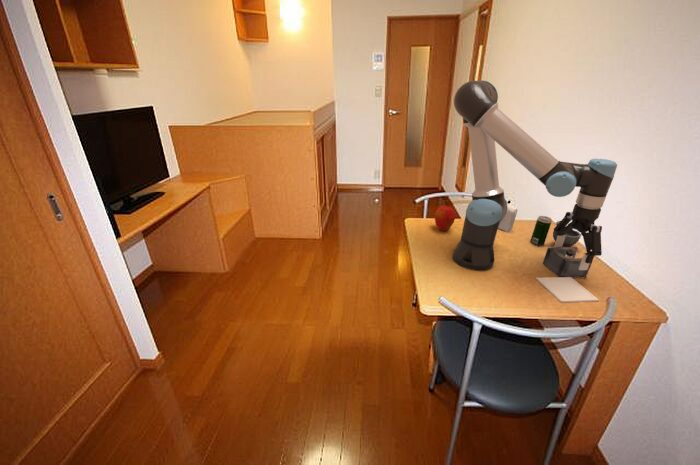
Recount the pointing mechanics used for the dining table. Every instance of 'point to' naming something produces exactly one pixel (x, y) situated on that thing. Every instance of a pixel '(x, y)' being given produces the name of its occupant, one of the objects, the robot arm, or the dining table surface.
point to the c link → (564, 262)
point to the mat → (566, 289)
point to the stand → (569, 253)
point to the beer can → (541, 230)
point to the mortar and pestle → (569, 237)
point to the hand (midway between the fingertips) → (569, 259)
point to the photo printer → (508, 219)
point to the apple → (444, 217)
